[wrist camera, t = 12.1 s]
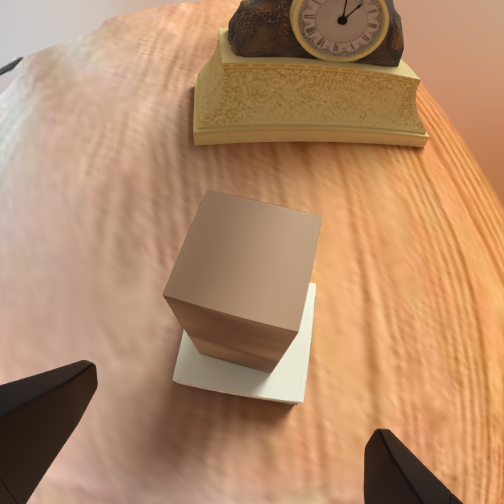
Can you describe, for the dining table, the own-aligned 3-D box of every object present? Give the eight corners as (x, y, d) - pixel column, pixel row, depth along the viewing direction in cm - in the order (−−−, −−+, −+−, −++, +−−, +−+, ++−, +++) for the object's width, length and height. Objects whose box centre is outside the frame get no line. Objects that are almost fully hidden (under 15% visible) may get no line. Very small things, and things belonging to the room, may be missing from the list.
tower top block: (309, 294, 23) (316, 283, 22) (297, 403, 19) (303, 402, 18) (202, 277, 24) (199, 264, 22) (178, 383, 20) (172, 380, 18)
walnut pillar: (288, 306, 21) (321, 216, 12) (271, 373, 18) (298, 332, 10) (221, 289, 21) (207, 189, 12) (200, 353, 19) (162, 294, 10)
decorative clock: (194, 146, 32) (180, -143, 6) (196, 86, 39) (190, -122, 13) (423, 148, 35) (507, -55, 9) (385, 92, 41) (435, -78, 15)
